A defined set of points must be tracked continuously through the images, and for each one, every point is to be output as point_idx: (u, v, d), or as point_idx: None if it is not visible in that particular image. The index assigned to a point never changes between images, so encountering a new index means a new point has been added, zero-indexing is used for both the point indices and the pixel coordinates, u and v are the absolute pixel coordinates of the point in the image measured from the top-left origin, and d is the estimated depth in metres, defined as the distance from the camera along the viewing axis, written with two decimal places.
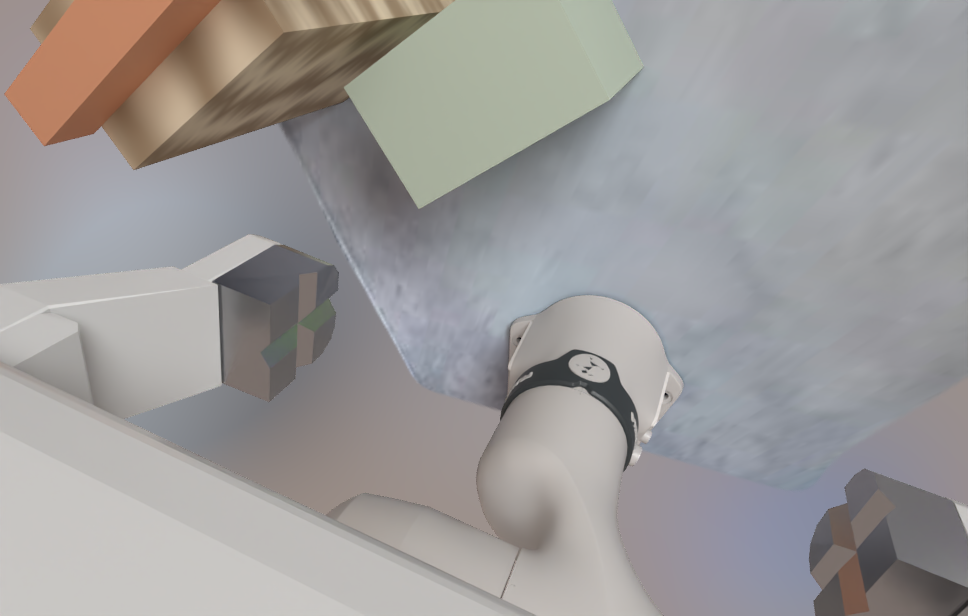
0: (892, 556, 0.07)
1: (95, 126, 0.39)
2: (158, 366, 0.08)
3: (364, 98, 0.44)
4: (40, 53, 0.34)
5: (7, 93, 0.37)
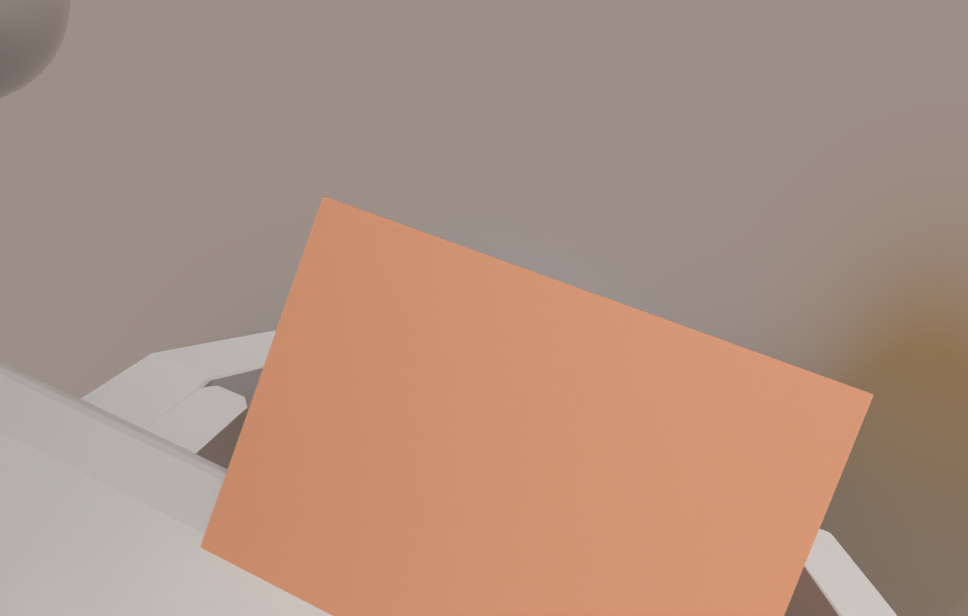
0: None
1: None
2: None
3: None
4: None
5: None
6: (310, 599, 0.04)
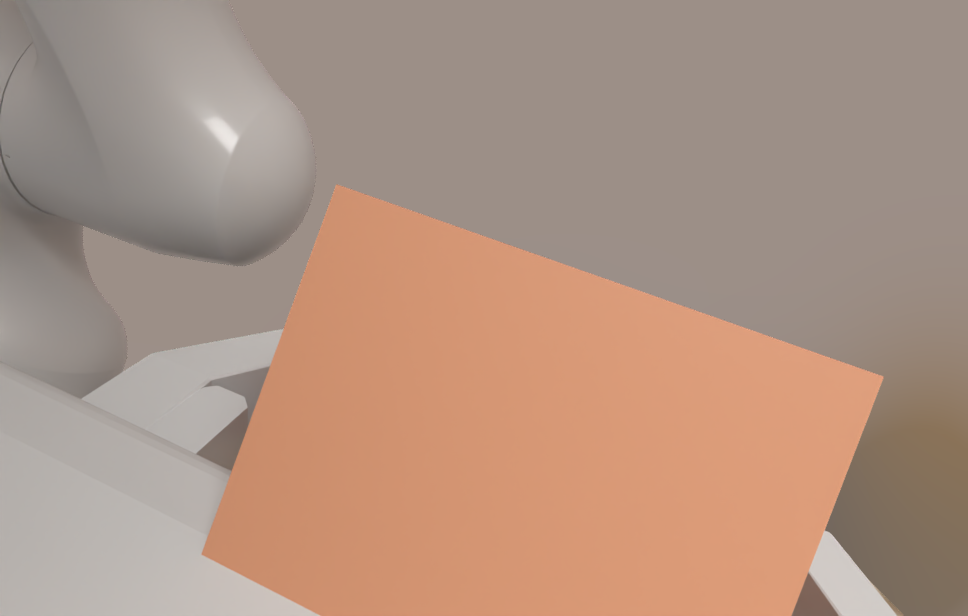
0: None
1: None
2: None
3: None
4: None
5: None
6: (320, 590, 0.04)
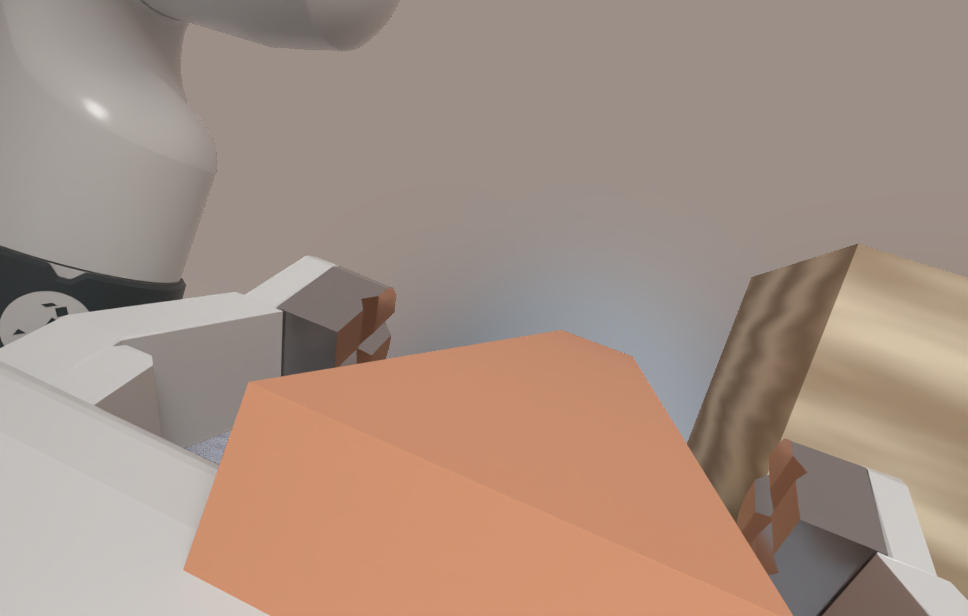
0: (798, 518, 0.07)
1: None
2: (221, 394, 0.08)
3: None
4: (630, 361, 0.24)
5: (629, 355, 0.28)
6: None
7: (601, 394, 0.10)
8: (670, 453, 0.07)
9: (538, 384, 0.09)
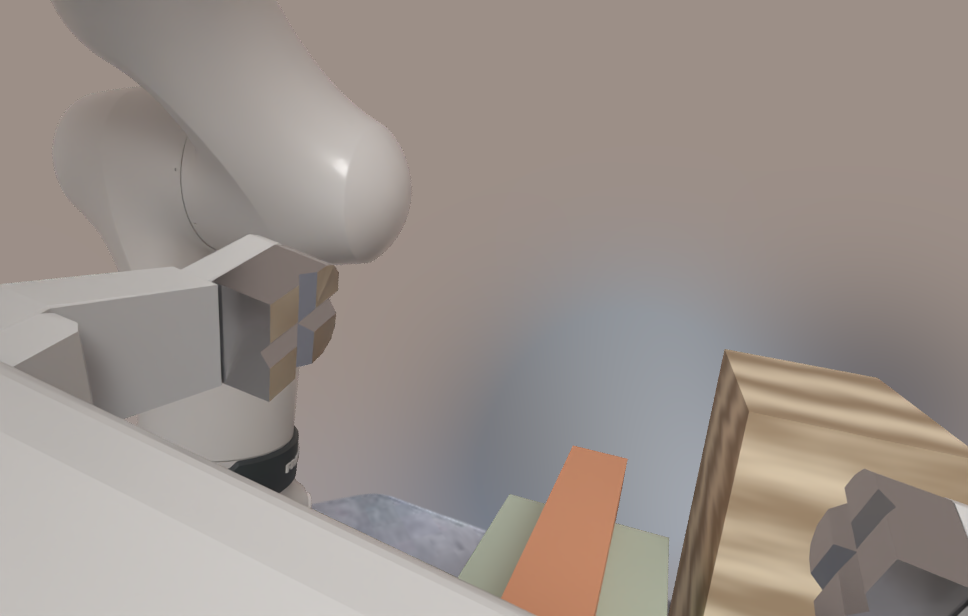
0: (892, 556, 0.07)
1: None
2: (158, 366, 0.08)
3: (643, 538, 0.36)
4: (616, 488, 0.35)
5: (625, 460, 0.39)
6: None
7: None
8: None
9: None
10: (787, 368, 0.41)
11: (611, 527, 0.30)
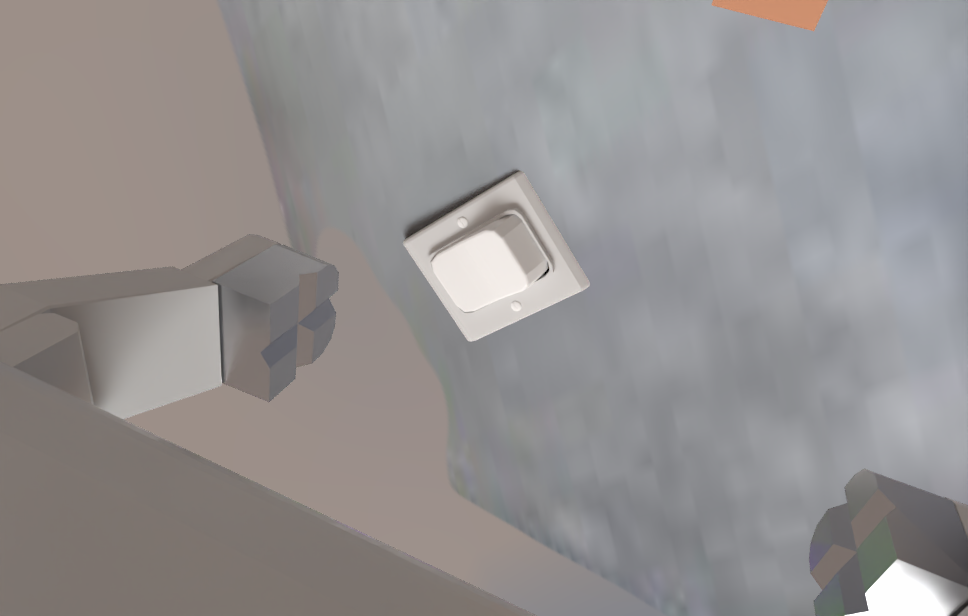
0: (892, 556, 0.07)
1: None
2: (158, 366, 0.08)
3: None
4: None
5: None
6: None
7: None
8: None
9: None
10: None
11: None
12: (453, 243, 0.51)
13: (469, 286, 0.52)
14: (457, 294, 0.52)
